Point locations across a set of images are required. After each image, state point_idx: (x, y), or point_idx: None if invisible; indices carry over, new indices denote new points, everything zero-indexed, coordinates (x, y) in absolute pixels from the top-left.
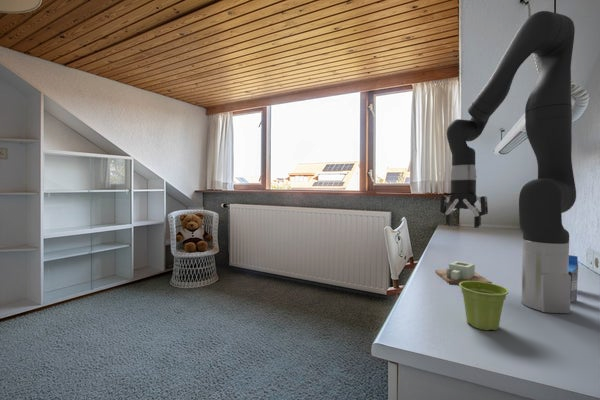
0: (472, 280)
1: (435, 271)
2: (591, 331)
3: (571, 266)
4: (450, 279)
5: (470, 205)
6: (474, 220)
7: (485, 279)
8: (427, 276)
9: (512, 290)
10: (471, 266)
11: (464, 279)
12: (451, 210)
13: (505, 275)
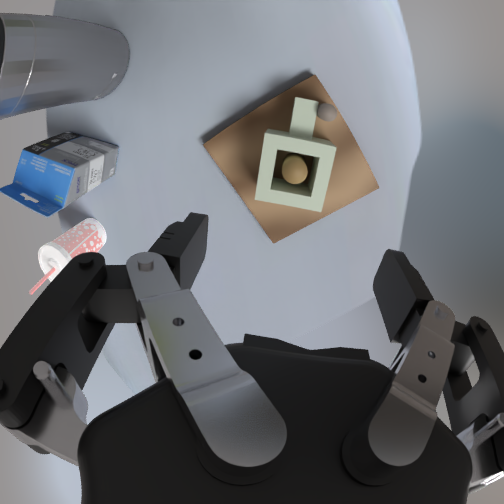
0: (253, 125)
1: (377, 185)
2: (55, 12)
3: (20, 174)
4: (314, 93)
5: (171, 343)
6: (190, 238)
7: (223, 163)
8: (389, 125)
9: (156, 133)
10: (259, 168)
11: (276, 120)
12: (418, 327)
13: (199, 272)
